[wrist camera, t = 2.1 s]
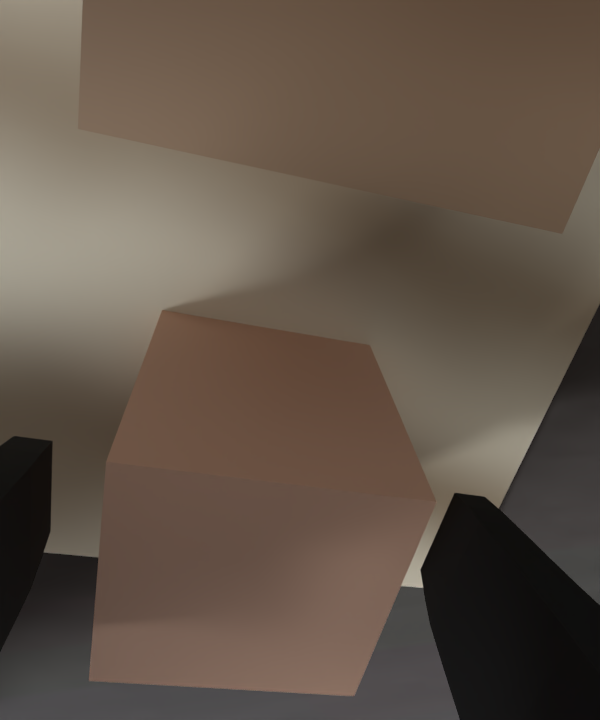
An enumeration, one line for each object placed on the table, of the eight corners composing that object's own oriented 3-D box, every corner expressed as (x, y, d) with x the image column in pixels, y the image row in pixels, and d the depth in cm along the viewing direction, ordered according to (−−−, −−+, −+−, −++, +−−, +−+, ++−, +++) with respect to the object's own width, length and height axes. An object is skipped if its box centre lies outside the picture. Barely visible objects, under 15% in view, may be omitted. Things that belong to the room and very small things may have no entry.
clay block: (322, 500, 14) (353, 696, 10) (142, 479, 13) (88, 681, 9) (370, 345, 12) (436, 501, 8) (161, 310, 11) (106, 461, 7)
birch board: (451, 574, 17) (457, 591, 16) (-51, 524, 14) (-63, 542, 14) (920, -410, 8) (969, -445, 7) (-175, -950, 6) (-219, -1056, 5)
